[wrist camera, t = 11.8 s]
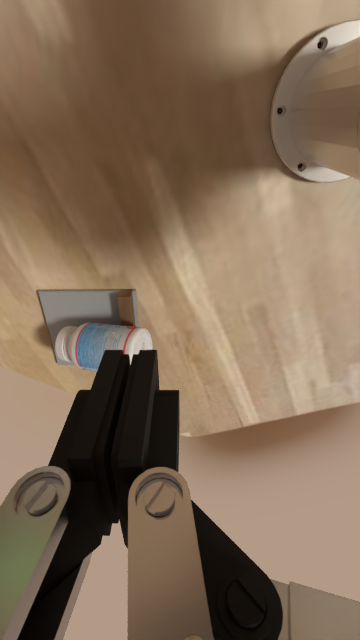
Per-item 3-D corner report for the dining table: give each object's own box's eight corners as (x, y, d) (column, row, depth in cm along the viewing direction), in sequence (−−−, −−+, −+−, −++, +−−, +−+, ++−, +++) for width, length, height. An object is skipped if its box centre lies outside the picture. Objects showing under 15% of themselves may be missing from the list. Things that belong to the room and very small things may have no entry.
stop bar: (132, 289, 42) (130, 296, 40) (139, 362, 48) (138, 371, 46) (120, 289, 42) (117, 296, 40) (129, 362, 48) (127, 371, 46)
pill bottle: (144, 317, 39) (66, 310, 42) (126, 361, 35) (42, 349, 39) (157, 346, 43) (86, 337, 47) (142, 387, 40) (66, 374, 44)
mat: (135, 289, 42) (135, 291, 41) (142, 362, 48) (142, 364, 47) (39, 289, 42) (38, 291, 41) (59, 362, 48) (58, 364, 48)
